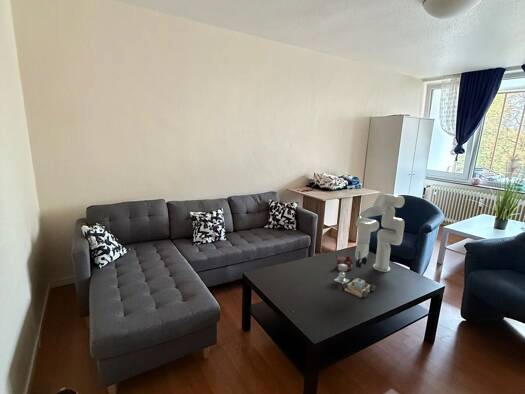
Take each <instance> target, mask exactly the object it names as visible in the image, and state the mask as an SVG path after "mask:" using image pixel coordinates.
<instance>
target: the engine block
mask: <svg viewBox="0 0 525 394" xmlns="http://www.w3.org/2000/svg"><path fill="white" fill-rule="evenodd" d="M365 283H366V280H365V279H361V278H358V277H357V278H356V280H355V281H354V287H356V288H359V289H361V290H363V289H364V285H365Z"/></svg>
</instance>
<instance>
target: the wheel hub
mask: <svg viewBox="0 0 525 394" xmlns="http://www.w3.org/2000/svg"><path fill="white" fill-rule="evenodd" d="M337 267H338V268H337V269H338V271H339V272H347V271H348V270H347V265H346V264H339V266H337Z"/></svg>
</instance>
